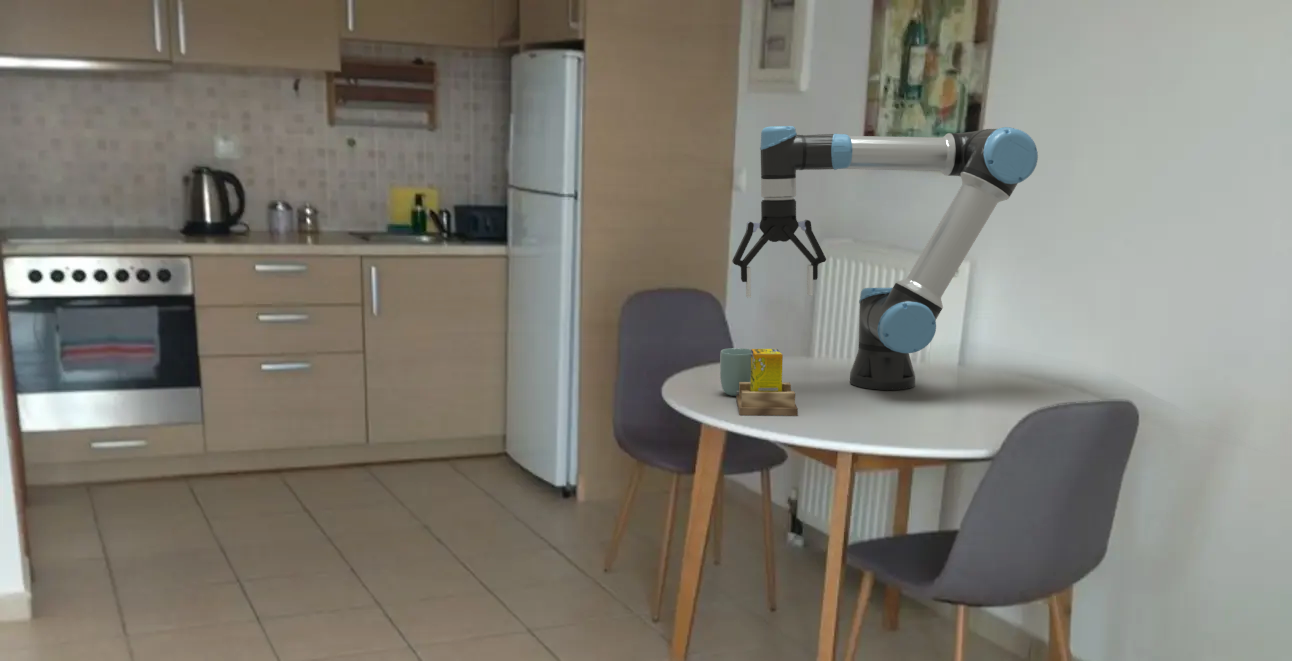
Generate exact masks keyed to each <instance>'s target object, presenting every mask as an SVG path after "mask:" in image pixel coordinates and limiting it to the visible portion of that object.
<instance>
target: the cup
mask: <svg viewBox="0 0 1292 661" xmlns="http://www.w3.org/2000/svg"><path fill="white" fill-rule="evenodd" d="M719 356H720V358H719V360H720V361H719V376H720V377H719V378H720V384H721V389H722V391H723V392H724V394H725V395H727V396H730V397H736V391H739V382H751V349H750V348H743V347H742V348H741V347H736V348H735V347H733V348H732V347H731V348H724V349H721V350H720V355H719Z"/></svg>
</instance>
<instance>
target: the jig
mask: <svg viewBox="0 0 1292 661" xmlns="http://www.w3.org/2000/svg"><path fill="white" fill-rule="evenodd" d="M750 391H751V382H739V391H736V396H735V397H736V399H735V400H736V401H735V402H736V406H737V411H738V413H739V416H773V415H775V416H777V415H779V416H781V415H783V416H782V417H785V416H786V417H787V416H788V417H791V416H793V417H794V416H795V417H797V416H798V415H799V414H798V412H799V410H798V409H799V408H798V406H797V404H796V393H795V391H794V390H792V384H791V382H790V381H789V382H783V381H782V392H750ZM775 416H774V417H775ZM777 417H778V416H777Z"/></svg>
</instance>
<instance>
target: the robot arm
mask: <svg viewBox="0 0 1292 661" xmlns="http://www.w3.org/2000/svg"><path fill="white" fill-rule="evenodd" d="M759 150H760V175H761V176H760V178H761V180H760V181H761V182H760V183H761V184H760V185H761V187H760V188H761V190H760V192H761V193H760V196H761V197H762V198H763V199H762V200H761V201H760V202H761V204H760V206H761V210H760V211H761V212H760V213H761V217H760V221H759V222H752V221H750V220H749V221H747V223H746V230H745V232H744V235H743V238H742V240H741V242H740V243H739V246H738V248H737V250H736V252H735V254H734V256H733V258H732V261H731V262H732V264H734V265H735V266H738V267H740V280H741V282H742V283H745V297H746V298H747V299H750V298H752V276H751V275H752V274H751V270H752V269H751V268H752V267H751V266H748V265H750V264H751V262H752V261H753V259H754V258H755V257H756V256H757V254H758V253H759V252H760V251H761V249H763V247H764V246H765V245H766V244H767V243H768V242H772V243H778V242H783V243H784V242H785V243H786V242H789V240H790V241H791V242H792V243H793V244H794V245H795V246H796V248H797V249H798V250H799V252H801V254H802V255H803V256H804V257H805V258H806V259H807V261H808V262H809V263H810V264H807V265H806V268H807V270H806V272H807V273H806V275H807V276H806V279H807V280H806V282H807V283H806V285H807V286H806V287H807V290H806V291H807V292H806V293H807V295H808V296H811V297H813V295H814V281H815V280H818V276H819V274H818V273H819V272H818V271H819V270H818V266H819V265H820V264H822V263H825V262H826V261H827V258H826V255H825V253H824V252H823V250H822V248H821V246H820V244H819V242H818V240H817V238H816V236H815V234H814V231H813V228H812V222H811V220H808V219H805V220H802V221H798V220H797V201H796V199H794V197H796V196H797V171H805V170H806V171H808V170H811V171H812V170H813V171H818V170H819V171H821V170H834V171H836V170H868V171H869V170H875V171H913V172H914V171H917V172H921V171H923V172H924V171H925V172H928V171H929V172H941V173H942V174H943V175H944V176H946V177H947V176H951V177H952V176H953V177H961V183H962V184H961V186H960V187H959V189H958V191H957V193H956V194H955V196H954V198H953V199H952V201H951V202H950V204H949V206H948V207H947V209H946V211H945V213H944V214H943V216H942V218H941V219H940V220H939V223H938V224H937V226H936V228H935V230H934V231H933V233H932V235H931V237H930V238H929V239H928V241H927V243H926V245H925V246H924V248H923V249H922V251H921V253H920V255H919V256H918V258H917V260H916V261H915V264H914V265H913V266H912V268H911V269H910V271H909V273H908V275H907V276H906V278H904V279H901V280H898V281H896V282H895V283H894V284H893V286H892V287H865V288H863V289H862V290H861V292H860V296H859V297H860V298H859V301H858V303H859V315H858V316H859V320H858V322H859V323H858V349H857V353H856V356H855V359H854V361H853V365H852V366H851V367H852V368H851V369H850V372H849V384H851V385H853V386H855V387H858V388H864V389H868V390H869V389H871V390H876V391H877V390H880V391H897V390H899V391H900V390H908V389H911V388H914V387H916V374H915V370H914V367H913V363H912V360H911V359H912V358H911V357H910V356H911V355H910V354H913V353H916V352H919V351H921V350H923V349H925V348H926V347H927V346H929V344H930V343H931V342H932V340H933V339H934V336H935V334H936V329H937V321H936V320H937V319H938V317H939V315H940V313H941V312H942V310H943V308H944V306H943V303H942V297H943V295H944V293H945V291H946V289H947V288H948V286H949V285H950V283H951V282H952V279H953V278H954V277H955V275H956V274H957V272H958V270H959V268H960V266H961V265H962V263H963V261H964V260H965V258H966V256H967V255H968V254H969V251H970V250H971V249H972V247H973V245H974V243H975V241H976V239H977V238H978V237H979V235H980V233H981V232H982V230H983V228H984V227H985V224H986V223H987V222H988V220H989V218H990V216H991V215H992V213H993V212H994V210H995V209H996V207H997V205H998V204H999V203H1001V202H1003V201H1008V200H1009V199H1010V197H1011V195H1012V194H1013V193H1014V190H1015V189H1016V187H1017V186H1018V184H1019V183H1022V182H1024V181H1025V180H1027V179H1028V178H1029V177H1031V175H1032V174H1033V173H1034V171H1035V169H1036V167H1037V163H1038V158H1039V155H1038V152H1039V151H1038V149H1037V145H1036V143H1035V141H1034V139H1033V138H1032V137H1031V136H1030V135H1029V134H1028V133H1027V132H1025V131H1023V130H1021V129H1019V128H1015V127H1008V126H1004V127H1001V128H986V129H985V128H984V129H980V130H974V131H967V132H958V133H957V132H956V133H954V132H953V133H952V132H948V133H946V134H945V135H944V136H942V137H933V136H932V137H928V136H927V137H926V136H925V137H924V136H922V137H921V136H920V137H919V136H872V135H871V136H870V135H868V136H867V135H865V136H864V135H848V134H846V133H845V134H844V133H825V134H824V133H823V134H821V133H820V134H819V133H818V134H805V135H803V134H798V133H797V131H796V127H795V126H793V125H780V126H779V125H778V126H777V125H776V126H775V125H773V126H766V127H763V129H762V130H761V132H760V147H759ZM798 228H800V229H801V230H802V231H804V232H805V236H807V240H808V241H809V243H810V244H811V247H812V249H813V251H814V253H815V255H816V257H815V256H814V255H813V254H812V253H811V251H809V249H808V248H807V247H806V246H805V245H804V244H803V242H802V241H801V240H800V239H799V238H798V236H797V235H796V234H795V233H796V231H797V230H798ZM758 229H759V230H760V231H761V232H762V233H763V234H762V235H761V236H760V238H759V239H758V241H756V243H755V244H754V245H753V247H751V249H750V250H749V252H748V253H747V254H746V255H745V257H744V258H743V259H742V257H743V256H744V253H745V251H746V249H747V247H748V245H749V242H750V241H751V239H752V236H753V233H755V232H757V230H758ZM741 259H742V260H741Z"/></svg>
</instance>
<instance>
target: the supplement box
mask: <svg viewBox="0 0 1292 661" xmlns="http://www.w3.org/2000/svg"><path fill="white" fill-rule="evenodd" d="M783 356H784V355H783V353H782V352H780V350H779V349H778V348H752V349H751V391H750V392H782V382H783V362H784V361H783Z"/></svg>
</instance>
